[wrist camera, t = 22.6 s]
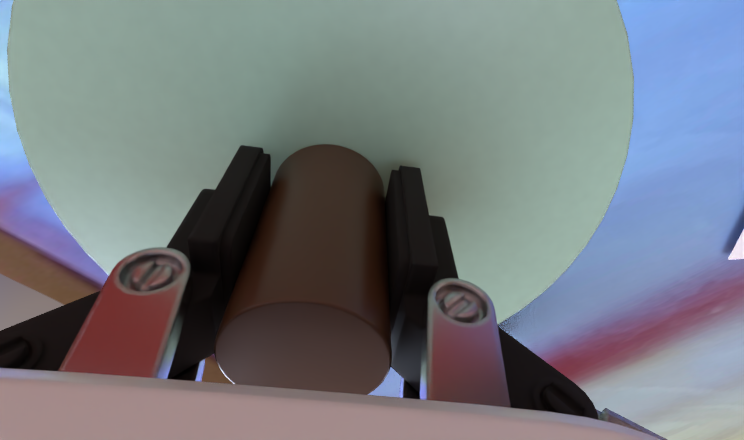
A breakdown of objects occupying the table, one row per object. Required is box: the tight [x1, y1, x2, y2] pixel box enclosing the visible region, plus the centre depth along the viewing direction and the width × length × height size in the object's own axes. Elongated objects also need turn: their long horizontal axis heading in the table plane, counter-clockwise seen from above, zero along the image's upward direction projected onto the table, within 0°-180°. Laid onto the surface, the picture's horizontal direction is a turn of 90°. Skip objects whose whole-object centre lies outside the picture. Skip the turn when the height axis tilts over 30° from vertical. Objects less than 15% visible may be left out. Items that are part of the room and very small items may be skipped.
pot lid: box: [7, 0, 634, 395], centre depth 10 cm, size 17×17×7 cm
